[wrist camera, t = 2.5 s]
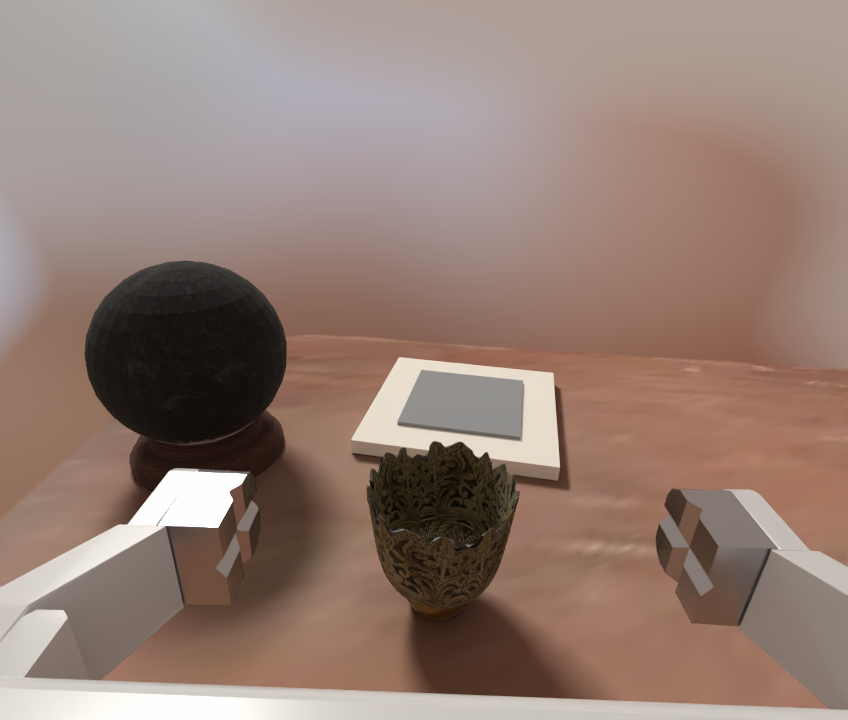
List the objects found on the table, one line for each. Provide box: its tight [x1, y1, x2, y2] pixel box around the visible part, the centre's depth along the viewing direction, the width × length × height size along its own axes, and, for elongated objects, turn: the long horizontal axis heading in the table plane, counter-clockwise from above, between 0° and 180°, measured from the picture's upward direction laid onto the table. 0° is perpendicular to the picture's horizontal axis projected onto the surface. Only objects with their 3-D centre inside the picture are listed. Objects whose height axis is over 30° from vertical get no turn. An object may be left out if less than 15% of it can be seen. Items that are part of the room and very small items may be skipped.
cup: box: [367, 441, 519, 620], centre depth 27 cm, size 8×7×8 cm
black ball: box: [85, 261, 286, 491], centre depth 38 cm, size 13×13×15 cm
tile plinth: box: [351, 357, 560, 481], centre depth 46 cm, size 16×16×2 cm
